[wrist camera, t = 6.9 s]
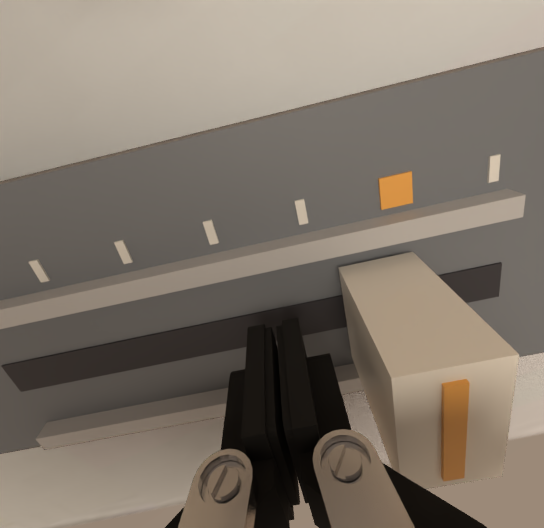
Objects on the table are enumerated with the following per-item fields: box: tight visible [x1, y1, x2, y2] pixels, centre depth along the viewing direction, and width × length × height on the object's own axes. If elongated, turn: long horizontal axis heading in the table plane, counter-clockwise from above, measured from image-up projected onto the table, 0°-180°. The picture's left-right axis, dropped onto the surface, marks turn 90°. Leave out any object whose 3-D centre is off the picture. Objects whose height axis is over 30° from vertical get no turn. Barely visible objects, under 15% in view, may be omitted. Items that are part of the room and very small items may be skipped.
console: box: [0, 47, 544, 454], centre depth 12 cm, size 11×32×4 cm, turn 103°
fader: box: [338, 252, 519, 489], centre depth 10 cm, size 4×2×5 cm, turn 13°
